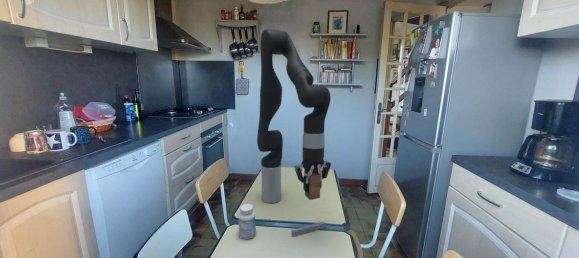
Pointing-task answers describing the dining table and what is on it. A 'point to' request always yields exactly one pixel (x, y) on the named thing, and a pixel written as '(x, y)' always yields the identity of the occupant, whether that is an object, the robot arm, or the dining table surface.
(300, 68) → the robot arm
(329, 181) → the dining table surface
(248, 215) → the pill bottle
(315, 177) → the walnut block
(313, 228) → the rail
